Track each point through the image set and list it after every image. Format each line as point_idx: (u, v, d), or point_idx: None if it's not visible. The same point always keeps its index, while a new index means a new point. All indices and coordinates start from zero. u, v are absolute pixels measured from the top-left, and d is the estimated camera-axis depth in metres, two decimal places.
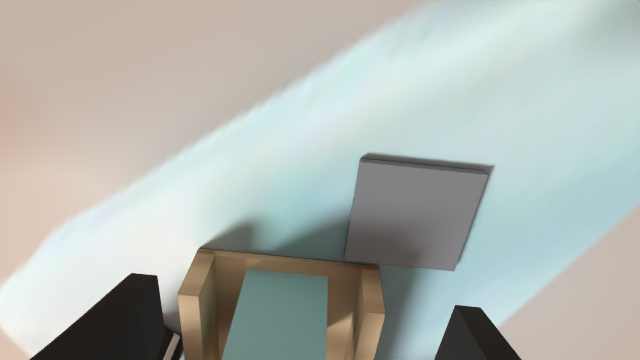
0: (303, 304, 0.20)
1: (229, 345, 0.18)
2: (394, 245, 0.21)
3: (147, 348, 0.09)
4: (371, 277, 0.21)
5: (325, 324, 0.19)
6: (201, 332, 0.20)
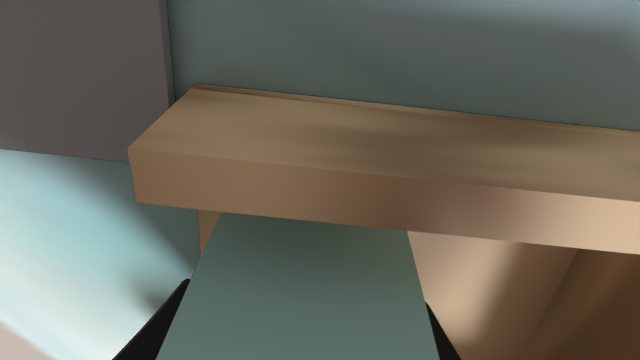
0: None
1: None
2: (102, 56, 0.08)
3: None
4: None
5: (183, 299, 0.07)
6: None
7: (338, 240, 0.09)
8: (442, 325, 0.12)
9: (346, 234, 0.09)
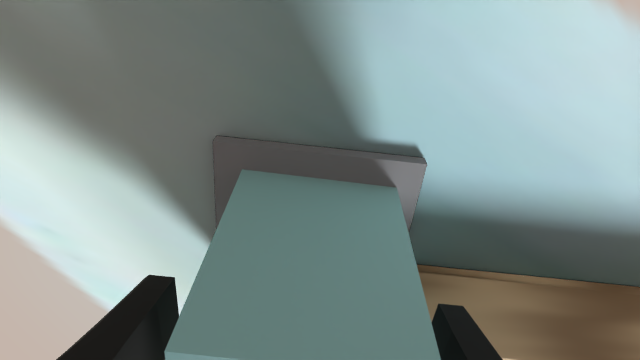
0: None
1: None
2: None
3: None
4: None
5: (211, 244, 0.09)
6: None
7: (340, 204, 0.10)
8: None
9: (347, 200, 0.11)
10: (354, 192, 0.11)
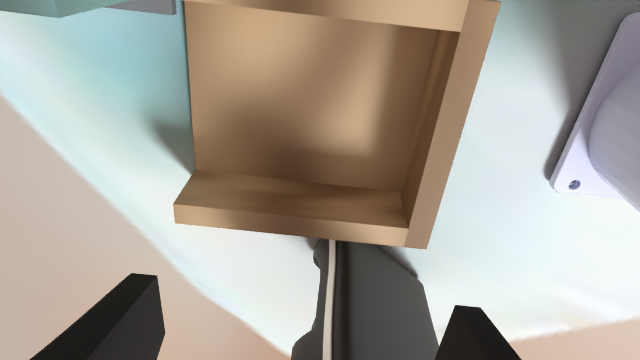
0: None
1: None
2: None
3: (147, 348, 0.09)
4: None
5: None
6: (236, 209, 0.17)
7: None
8: (350, 140, 0.18)
9: None
10: None
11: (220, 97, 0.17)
